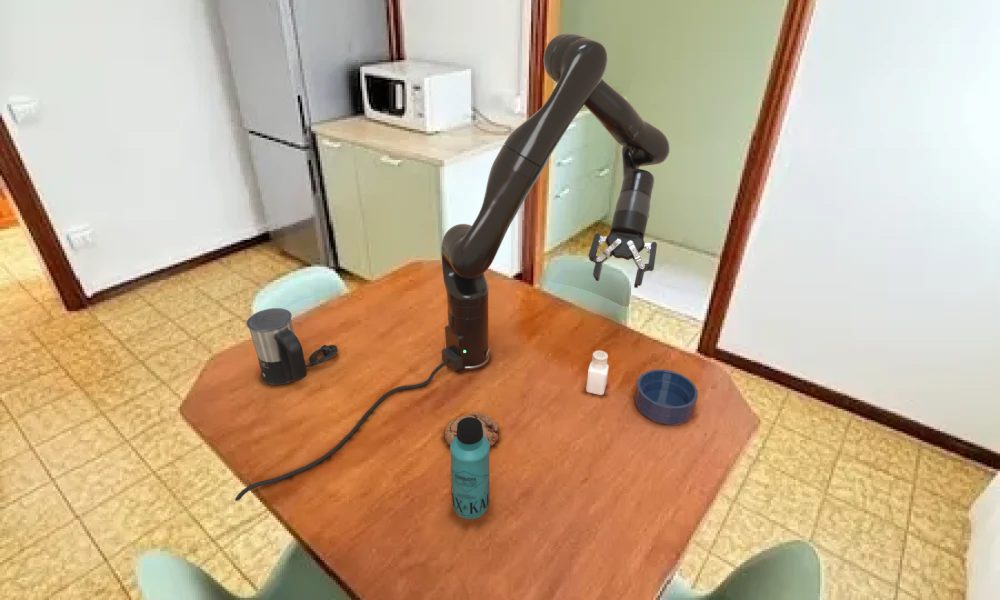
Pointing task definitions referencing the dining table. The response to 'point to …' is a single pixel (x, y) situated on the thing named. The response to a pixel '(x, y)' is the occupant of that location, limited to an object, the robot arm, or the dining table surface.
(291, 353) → the milk frother
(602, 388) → the salt shaker
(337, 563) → the dining table surface
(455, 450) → the beverage bottle
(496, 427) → the cookie
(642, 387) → the bowl
